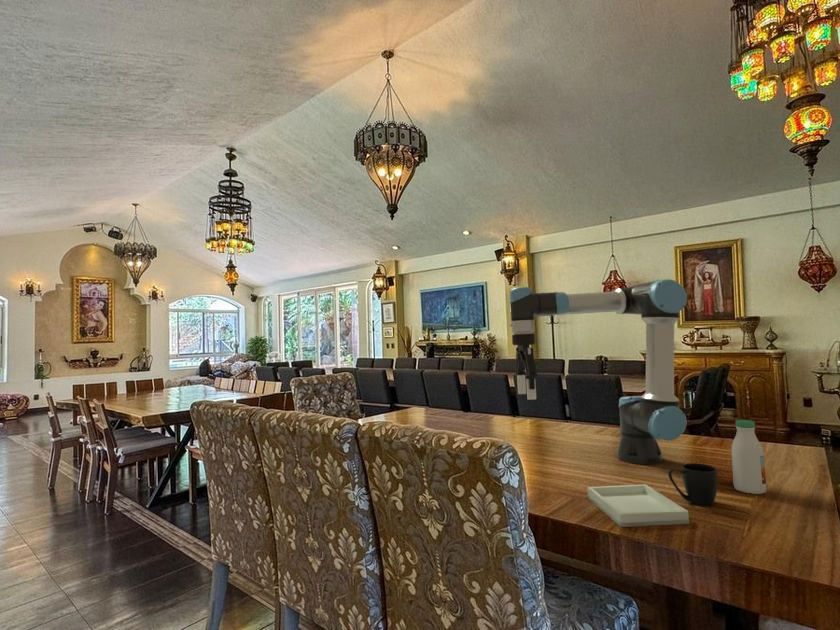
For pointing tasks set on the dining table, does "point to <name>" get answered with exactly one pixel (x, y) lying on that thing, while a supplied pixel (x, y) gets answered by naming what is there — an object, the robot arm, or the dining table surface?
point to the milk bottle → (748, 460)
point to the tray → (637, 506)
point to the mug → (698, 483)
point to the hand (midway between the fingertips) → (526, 396)
